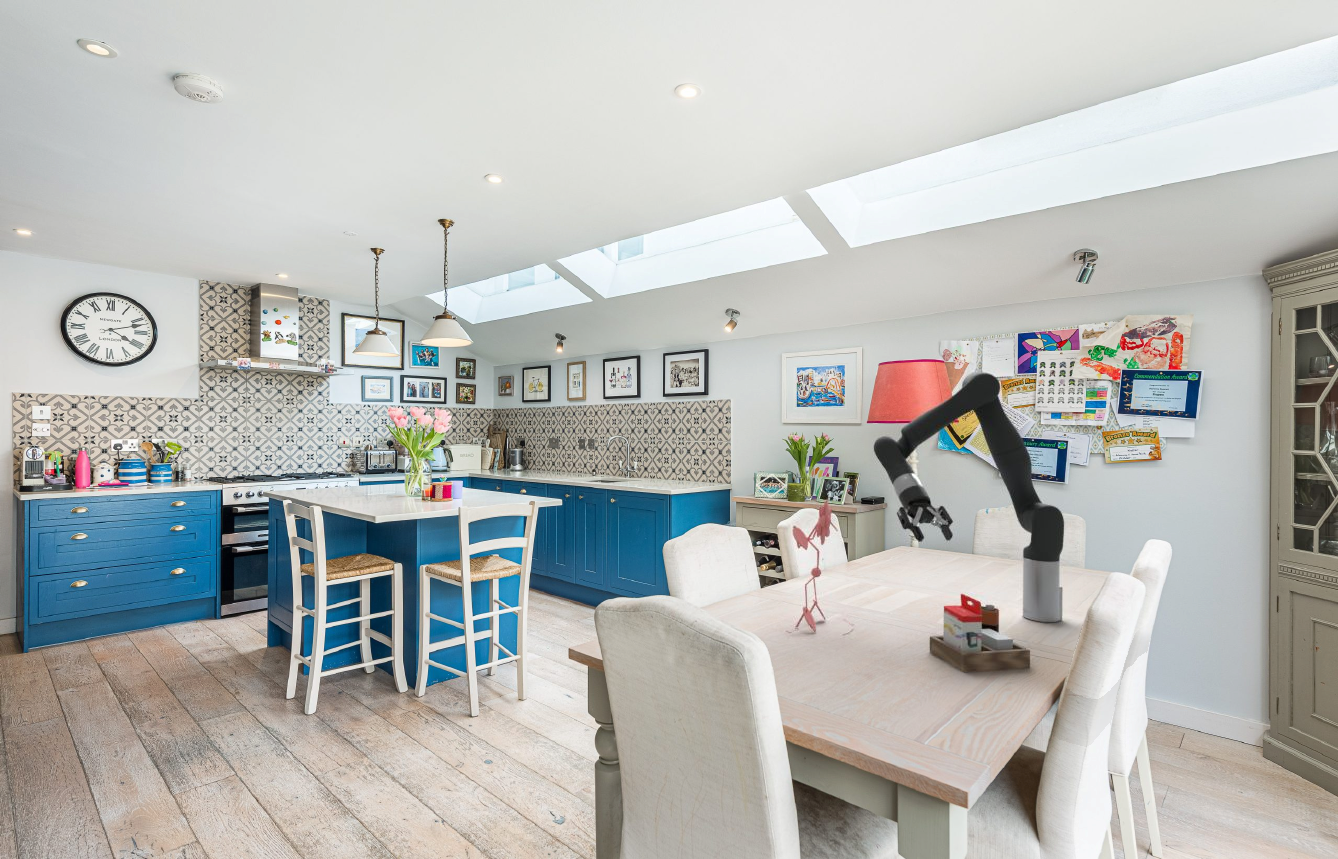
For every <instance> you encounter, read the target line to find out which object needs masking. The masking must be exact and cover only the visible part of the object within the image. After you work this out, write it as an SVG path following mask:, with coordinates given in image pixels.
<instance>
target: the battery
mask: <svg viewBox="0 0 1338 859" xmlns="http://www.w3.org/2000/svg"><path fill="white" fill-rule="evenodd" d="M971 605H972V606H974V604H973V603H972V602H971ZM981 616H982V629H991V630H994V631H996V632H998V633H1000V631H999V630H1000V610H999V608H996V606H995V605H993V604H985V606H984V605H981Z"/></svg>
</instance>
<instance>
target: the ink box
mask: <svg viewBox="0 0 1338 859" xmlns="http://www.w3.org/2000/svg"><path fill="white" fill-rule="evenodd" d="M968 602H971V604H970V603H968ZM972 603H973V604H974V606H972ZM960 604H961V605H944V606H943V635H942V636H943V641H944V642H946V643H947V644H949V645H951V646H953V647H955V648H957V649H959V650H961V651H963V652H965V653H967V652H981V635H982V634H981V633H982V616H981V606H982V602H981V601H979V600H977V599H975V598H973V597H970V596H968V595H966V594H964V593H961V594H960Z"/></svg>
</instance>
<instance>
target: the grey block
mask: <svg viewBox="0 0 1338 859" xmlns="http://www.w3.org/2000/svg"><path fill="white" fill-rule="evenodd" d="M981 634H982V635H981V643H982V644H984V645H986V646H988V647H990V648H992V649H994V650H996V651H998V650H1013V643H1014V639H1013V638H1012V637H1009V636H1007V635H1006V634H1003V633H1000V632H999V633H998V632H996V631H994V630H991V629H982V633H981Z"/></svg>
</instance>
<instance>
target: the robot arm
mask: <svg viewBox="0 0 1338 859" xmlns="http://www.w3.org/2000/svg"><path fill="white" fill-rule="evenodd" d="M1000 391H1001V383H1000V381H999V379H998V378H997V377H996V376H995V375H993V374H992V373H989V372H986V371H985V372H984V371H973V372H971V373H969V374H967V375H966V376H965V378H964V379H963V381H962V385H961V388H960V389H959V390H958V391H957V392H956V393H954V394H953V395H952V396H951V397H949V398H948V399H946V400H944V401H943V402H941V403H939V404H938V405H937V406H934V407H932V408H931V409H928V410H927V411H925V412H923V413H922V414H920V415H918V416H917V417H916V418H914V419H912V420H911V421H910V422H908V423H907V424H906V425H904V426H903V427H902V428H901V430H900V433H901V437H900V438H899V439H898V440H896V439H894V438H893V437H892V436H890V435H882V436H879V437H878V438H877V439H876V440H875V441H874V443H873V452H874V454H875V456H876V458H877V459H878V461H879V462H880V464H881V465H882V467H883V468H884V470H885V472H886V473H887V475H888V478H889V480H890V483H891V484H892V485H893V489H894V491H895V494H896V496H897V498H898V500H899V501H900V503H901V505H902V506H900V507H899V509H898V510H897V512H896V516H897V517H898V520H899V522H900V524H901V527H902V529H903V530H909V531H911V533H912V535H913V536H914V539H916V540H917V541H918V542H920V543H921V542H923V540H924V539H925V535H924V533H923V532H922V530H921V528H920V526H918V524H919V525H920V524H922V525H923V524H930V525H932V526H934V527H937V528H939V529H940V531H941V533H942V535H943V537H944V539H945V540H946V541H947V542H948V541H951V540H952V538H953V532H952V531H951V528H950V527H951V525H952V524H953V522H954V520H953V519H952V517H951V516H950V514H949V513H948V511H947V509H946V508H945V506H943V505H940V506H939V507H934V506H933V505H932V501H931V498H930V497H929V495H928V493H927V490H926V489H925V487H924V486H923V483H922V482H921V480H920V479H919V477H918V476H917V475H916V473H915V471H914V469H913V468H912V465H911V464H910V463H909V462H908V461H907V459H908V458H909V457H910V456H911V454H913V453H914V451H915V450H916V449H917V448H918V447H919V446H920V445H921V444H923V443H924V442H926V441H927V440H929V439H930V438H932V437H933V436H935V435H936V434H937V433H939V432H940V431H942V430H943V429H945V428H946V427H947V426H948V425H951V423H954V422H955V421H956V420H958V419H960V418H962V416H965V415H966V414H968V413H970V412H972V411H973V412H974V413H975V415H976V417H977V420H978V422H979V424H980V428H981V431H982V434H983V437H984V439H985V442H986V445H987V447H988V450H989V452H990V455H991V457H992V460H993V461H994V464H995V466H996V468H997V470H998V472H999V474H1000V477H1001V478H1002V480H1003V483H1004V485H1005V487H1006V488H1007V491H1008V494H1009V497H1010V499H1011V503H1012V505H1013V509H1014V512H1015V515H1016V518H1017V521H1018V523H1019V524H1020V526H1021V528H1022V529H1023V530H1025V531H1026V532H1028V533H1030V542H1029V544H1028V545H1027V546H1025V547H1024V548H1023V550H1022V616H1023V617H1024V618H1025V619H1027V620H1031V621H1036V622H1040V623H1041V622H1043V623H1056V622H1059V621H1062V620H1063V594H1064V593H1063V586H1061V585H1060V583H1061V582H1060V573H1061V572H1060V570H1061V569H1060V567H1061V566H1060V563H1061V562H1060V560H1061V559H1060V558H1061V557H1060V556H1061V554H1062V552H1063V548H1064V538H1065V534H1064V533H1065V521H1064V520H1065V519H1064V515H1063V512H1062V511H1061V510H1060V509H1059V508H1058V507H1057V506H1054V505H1052V504H1048V503H1044V502H1042V500H1041V499H1040V497H1039V495H1038V494H1037V491H1036V489H1035V486H1034V484H1033V478H1032V473H1033V472H1032V470H1033V469H1032V460H1031V456H1030V453H1029V450H1028V449H1027V447H1026V444H1025V441H1024V440H1023V438H1022V436H1021V435H1020V433H1019V431H1018V430H1017V428H1016V427H1015V425H1014V424H1013V422H1012V421H1011V420H1010V418H1009V417H1008V416H1007V413H1006V412H1005V410H1004V408H1003V406H1002V403H1001V400H1000V397H999V394H1000ZM909 517H910V518H911V521H910V518H909ZM934 519H936V520H934Z"/></svg>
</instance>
